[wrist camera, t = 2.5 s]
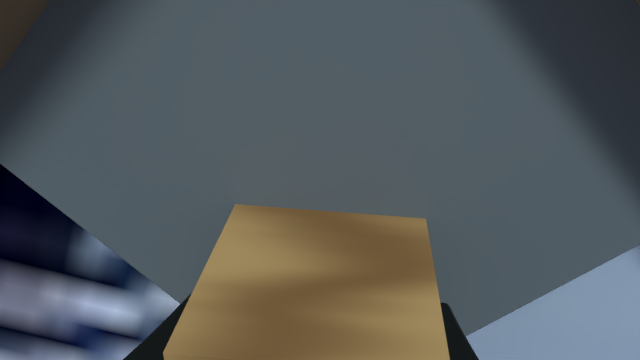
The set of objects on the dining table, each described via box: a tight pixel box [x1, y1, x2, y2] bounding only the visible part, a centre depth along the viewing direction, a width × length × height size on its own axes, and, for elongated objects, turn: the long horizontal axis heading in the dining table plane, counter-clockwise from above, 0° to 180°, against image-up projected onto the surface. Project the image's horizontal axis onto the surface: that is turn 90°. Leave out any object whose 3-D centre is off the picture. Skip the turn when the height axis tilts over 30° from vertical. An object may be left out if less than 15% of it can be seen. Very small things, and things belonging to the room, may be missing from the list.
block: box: [163, 204, 450, 360], centre depth 12 cm, size 5×5×5 cm
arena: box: [0, 0, 640, 336], centre depth 11 cm, size 15×15×3 cm
